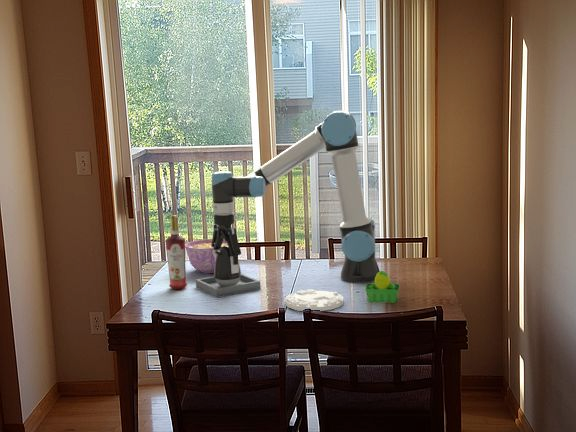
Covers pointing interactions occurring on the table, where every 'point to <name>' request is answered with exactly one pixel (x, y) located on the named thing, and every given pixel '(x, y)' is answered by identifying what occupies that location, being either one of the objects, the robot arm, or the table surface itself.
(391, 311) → the table surface
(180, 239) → the liquor
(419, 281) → the table surface
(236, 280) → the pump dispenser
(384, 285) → the fruit basket
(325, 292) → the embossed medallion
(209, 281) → the tray
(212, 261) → the bowl of food
